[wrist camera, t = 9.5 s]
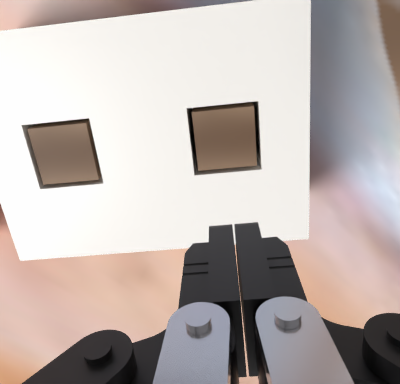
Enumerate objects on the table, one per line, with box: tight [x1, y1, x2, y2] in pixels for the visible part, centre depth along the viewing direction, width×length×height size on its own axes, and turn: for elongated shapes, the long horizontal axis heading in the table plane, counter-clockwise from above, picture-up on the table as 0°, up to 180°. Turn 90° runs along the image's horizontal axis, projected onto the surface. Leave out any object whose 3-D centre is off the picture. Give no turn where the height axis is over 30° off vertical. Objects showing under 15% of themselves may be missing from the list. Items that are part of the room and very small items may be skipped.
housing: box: [0, 0, 311, 261], centre depth 29 cm, size 16×22×8 cm
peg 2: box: [192, 102, 257, 171], centre depth 28 cm, size 4×4×7 cm
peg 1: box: [27, 118, 102, 185], centre depth 29 cm, size 4×4×7 cm
